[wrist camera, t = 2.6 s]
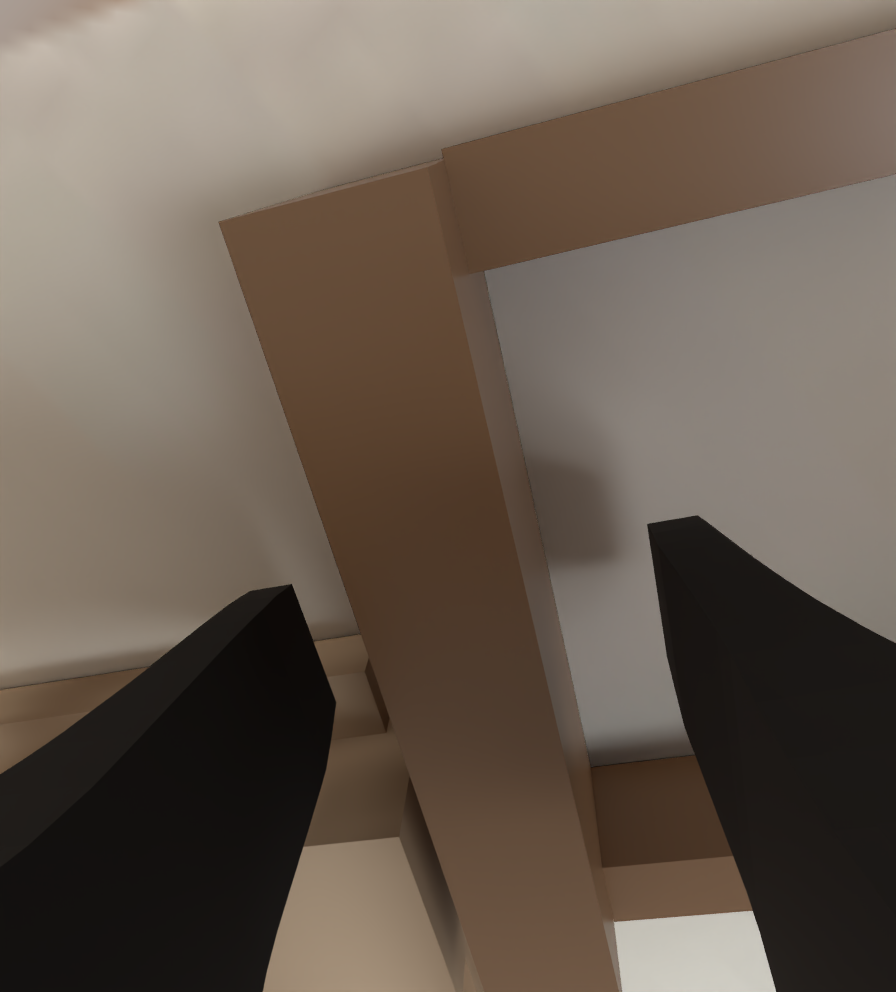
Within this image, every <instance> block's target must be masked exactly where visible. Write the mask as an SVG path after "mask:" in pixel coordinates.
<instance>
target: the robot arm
mask: <svg viewBox="0 0 896 992" xmlns="http://www.w3.org/2000/svg"><path fill="white" fill-rule="evenodd" d="M647 526H648V533H649V540H650V546H651V553H652V559H653V566H654V573H655V579H656V586H657V593H658V599H659V606H660V613H661V619H662V626H663V633H664V639H665V646H666V653H667V658H668V662H669V666H670V670H671V675H672V679H673V683H674V687H675V691H676V695H677V699H678V703H679V707H680V711H681V715H682V719H683V723H684V726H685V729H686V732H687V735H688V737H689V740H690V743H691V745H692V748H693V751H694V753H695V756H696V759H697V761H698V764H699V767H700V770H701V772H702V775H703V778H704V780H705V783H706V786H707V788H708V791H709V793H710V796H711V799H712V801H713V804H714V807H715V809H716V812H717V815H718V817H719V820H720V823H721V825H722V828H723V831H724V833H725V836H726V839H727V841H728V844H729V847H730V849H731V852H732V854H733V857H734V860H735V862H736V865H737V868H738V870H739V873H740V876H741V878H742V881H743V884H744V886H745V889H746V892H747V895H748V898H749V901H750V904H751V907H752V910H753V913H754V916H755V919H756V922H757V925H758V928H759V931H760V934H761V938H762V941H763V945H764V949H765V952H766V956H767V960H768V963H769V967H770V970H771V974H772V978H773V981H774V985H775V989H776V992H896V643H894V642H892V641H890V640H888V639H886V638H884V637H882V636H880V635H878V634H876V633H874V632H873V631H871V630H869V629H867V628H865V627H863V626H861V625H860V624H858V623H856V622H854V621H853V620H851V619H849V618H847V617H846V616H844V615H842V614H840V613H839V612H837V611H835V610H834V609H832V608H830V607H828V606H827V605H825V604H823V603H821V602H820V601H818V600H816V599H815V598H813V597H812V596H810V595H808V594H807V593H805V592H804V591H802V590H801V589H799V588H798V587H796V586H795V585H793V584H792V583H790V582H789V581H787V580H786V579H784V578H783V577H781V576H780V575H778V574H777V573H775V572H774V571H772V570H771V569H769V568H768V567H767V566H765V565H764V564H762V563H761V562H759V561H758V560H757V559H755V558H754V557H753V556H751V555H750V554H749V553H747V552H746V551H745V550H743V549H742V548H740V547H739V546H738V545H736V544H735V543H734V542H733V541H731V540H730V539H729V538H727V537H726V536H725V535H723V534H722V533H721V532H719V531H718V530H717V529H716V528H714V527H713V526H712V525H710V524H709V523H708V522H706V521H705V520H703V519H702V518H700V517H699V516H698V515H697V516H691V517H685V518H679V519H673V520H667V521H661V522H656V523H650V524H647ZM335 709H336V700H335V697H334V695H333V692H332V689H331V687H330V684H329V681H328V679H327V676H326V673H325V671H324V668H323V665H322V663H321V660H320V657H319V655H318V652H317V650H316V647H315V644H314V642H313V639H312V636H311V634H310V631H309V628H308V626H307V623H306V620H305V618H304V615H303V612H302V610H301V607H300V604H299V602H298V599H297V596H296V594H295V591H294V589H293V586H292V584H290V585H284V586H278V587H272V588H266V589H260V590H254V591H250V592H248V593H247V594H245V595H243V596H242V597H240V598H238V599H237V600H235V601H234V602H232V603H231V604H229V605H228V606H227V607H225V608H224V609H223V610H221V611H220V612H219V613H217V614H216V615H215V616H213V617H212V618H211V619H209V620H208V621H207V622H205V623H204V624H203V625H202V626H200V627H199V628H198V629H196V630H195V631H194V632H193V633H191V634H190V635H189V636H188V637H186V638H185V639H184V640H183V641H181V642H180V643H179V644H178V645H176V646H175V647H174V648H173V649H171V650H170V651H169V652H168V653H166V654H165V655H164V656H162V657H161V658H160V659H159V660H157V661H156V662H155V663H154V664H152V665H151V666H150V667H149V668H147V669H146V670H145V671H144V672H142V673H141V674H140V675H139V676H137V677H136V678H135V679H133V680H132V681H131V682H130V683H128V684H127V685H126V686H124V687H123V688H122V689H120V690H119V691H117V692H116V693H115V694H113V695H112V696H111V697H109V698H108V699H107V700H105V701H104V702H103V703H101V704H100V705H99V706H97V707H96V708H95V709H93V710H92V711H91V712H89V713H88V714H87V715H85V716H84V717H83V718H81V719H80V720H79V721H77V722H76V723H75V724H73V725H72V726H71V727H69V728H68V729H67V730H65V731H64V732H62V733H61V734H60V735H58V736H57V737H55V738H54V739H52V740H51V741H50V742H48V743H47V744H45V745H44V746H42V747H41V748H39V749H38V750H36V751H35V752H33V753H32V754H30V755H29V756H27V757H26V758H25V759H23V760H22V761H20V762H18V763H17V764H15V765H14V766H12V767H11V768H9V769H7V770H6V771H4V772H3V773H1V774H0V992H263V989H264V984H265V979H266V974H267V969H268V965H269V962H270V958H271V954H272V950H273V946H274V943H275V939H276V935H277V931H278V928H279V925H280V921H281V918H282V915H283V912H284V908H285V905H286V902H287V898H288V895H289V892H290V889H291V885H292V882H293V879H294V876H295V872H296V869H297V866H298V863H299V859H300V856H301V853H302V850H303V846H304V843H305V840H306V837H307V833H308V830H309V827H310V824H311V820H312V817H313V813H314V810H315V807H316V803H317V800H318V796H319V793H320V790H321V786H322V783H323V779H324V776H325V772H326V768H327V762H328V756H329V750H330V745H331V739H332V731H333V724H334V717H335Z"/></svg>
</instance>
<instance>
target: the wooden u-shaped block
mask: <svg viewBox="0 0 896 992" xmlns="http://www.w3.org/2000/svg"><path fill="white" fill-rule="evenodd" d="M314 644H315V647H316V650H317V652H318V655H319V657H320V660H321V663H322V665H323V668H324V671H325V673H326V676H327V679H328V681H329V684H330V687H331V689H332V692H333V695H334V697H335V700H336V709H335V717H334V724H333V731H332V739H331V745H330V750H329V756H328V762H327V768H326V772H325V776H324V779H323V783H322V786H321V790H320V793H319V796H318V800H317V803H316V807H315V810H314V813H313V817H312V820H311V824H310V827H309V830H308V833H307V837H306V840H305V843H304V846H303V850H302V853H301V856H300V859H299V863H298V866H297V869H296V872H295V876H294V879H293V882H292V885H291V889H290V892H289V895H288V898H287V902H286V905H285V908H284V912H283V915H282V918H281V921H280V925H279V928H278V931H277V935H276V939H275V943H274V946H273V950H272V954H271V958H270V962H269V965H268V969H267V974H266V979H265V984H264V989H263V992H484V989H483V987H482V984H481V981H480V978H479V975H478V972H477V969H476V966H475V963H474V961H473V958H472V955H471V952H470V949H469V946H468V943H467V940H466V937H465V934H464V932H463V929H462V926H461V923H460V920H459V917H458V914H457V911H456V908H455V905H454V903H453V900H452V897H451V894H450V891H449V888H448V885H447V882H446V879H445V877H444V874H443V871H442V868H441V865H440V862H439V859H438V856H437V853H436V850H435V848H434V845H433V842H432V839H431V836H430V833H429V830H428V827H427V824H426V821H425V819H424V816H423V813H422V810H421V807H420V804H419V801H418V798H417V795H416V792H415V790H414V787H413V784H412V781H411V778H410V775H409V772H408V769H407V766H406V764H405V761H404V758H403V755H402V752H401V749H400V746H399V743H398V740H397V737H396V735H395V732H394V729H393V726H392V723H391V720H390V717H389V714H388V711H387V708H386V706H385V703H384V700H383V697H382V694H381V691H380V688H379V685H378V682H377V680H376V677H375V674H374V671H373V668H372V665H371V662H370V659H369V656H368V653H367V651H366V648H365V645H364V642H363V639H362V636H361V634H360V635H353V636H347V637H340V638H334V639H327V640H321V641H314ZM147 668H149V667H146V668H140V669H133V670H127V671H120V672H114V673H107V674H101V675H94V676H88V677H81V678H75V679H68V680H62V681H56V682H49V683H43V684H36V685H30V686H23V687H17V688H10V689H4V690H0V774H1V773H3V772H4V771H6V770H7V769H9V768H11V767H12V766H14V765H15V764H17V763H18V762H20V761H22V760H23V759H25V758H26V757H27V756H29V755H30V754H32V753H33V752H35V751H36V750H38V749H39V748H41V747H42V746H44V745H45V744H47V743H48V742H50V741H51V740H52V739H54V738H55V737H57V736H58V735H60V734H61V733H62V732H64V731H65V730H67V729H68V728H69V727H71V726H72V725H73V724H75V723H76V722H77V721H79V720H80V719H81V718H83V717H84V716H85V715H87V714H88V713H89V712H91V711H92V710H93V709H95V708H96V707H97V706H99V705H100V704H101V703H103V702H104V701H105V700H107V699H108V698H109V697H111V696H112V695H113V694H115V693H116V692H117V691H119V690H120V689H122V688H123V687H124V686H126V685H127V684H128V683H130V682H131V681H132V680H133V679H135V678H136V677H137V676H139V675H140V674H141V673H142V672H144V671H145V670H146V669H147Z"/></svg>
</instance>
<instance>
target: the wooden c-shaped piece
mask: <svg viewBox="0 0 896 992" xmlns="http://www.w3.org/2000/svg"><path fill="white" fill-rule="evenodd" d="M441 150H442V154H443V158H442V159H438V160H435V161H431V162H427V163H423V164H419V165H416V166H412V167H408V168H404V169H400V170H397V171H393V172H389V173H385V174H381V175H378V176H374V177H370V178H366V179H362V180H359V181H355V182H351V183H347V184H344V185H340V186H336V187H332V188H328V189H325V190H321V191H317V192H314V193H311V194H307V195H304V196H301V197H298V198H294V199H291V200H288V201H285V202H281V203H278V204H275V205H272V206H268V207H265V208H262V209H259V210H255V211H252V212H249V213H246V214H243V215H239V216H236V217H233V218H230V219H226V220H223V221H220V222H219V225H220V228H221V231H222V233H223V236H224V239H225V242H226V245H227V248H228V251H229V254H230V257H231V259H232V262H233V265H234V268H235V271H236V274H237V277H238V280H239V283H240V286H241V288H242V291H243V294H244V297H245V300H246V303H247V306H248V309H249V312H250V315H251V317H252V320H253V323H254V326H255V329H256V332H257V335H258V338H259V341H260V343H261V346H262V349H263V352H264V355H265V358H266V361H267V364H268V367H269V370H270V372H271V375H272V378H273V381H274V384H275V387H276V390H277V393H278V396H279V399H280V401H281V404H282V407H283V410H284V413H285V416H286V419H287V422H288V425H289V427H290V430H291V433H292V436H293V439H294V442H295V445H296V448H297V451H298V454H299V456H300V459H301V462H302V465H303V468H304V471H305V474H306V477H307V480H308V483H309V485H310V488H311V491H312V494H313V497H314V500H315V503H316V506H317V509H318V512H319V514H320V517H321V520H322V523H323V526H324V529H325V532H326V535H327V538H328V540H329V543H330V546H331V549H332V552H333V555H334V558H335V561H336V564H337V567H338V569H339V572H340V575H341V578H342V581H343V584H344V587H345V590H346V593H347V596H348V598H349V601H350V604H351V607H352V610H353V613H354V616H355V619H356V622H357V624H358V627H359V630H360V633H361V636H362V639H363V642H364V645H365V648H366V651H367V653H368V656H369V659H370V662H371V665H372V668H373V671H374V674H375V677H376V680H377V682H378V685H379V688H380V691H381V694H382V697H383V700H384V703H385V706H386V708H387V711H388V714H389V717H390V720H391V723H392V726H393V729H394V732H395V735H396V737H397V740H398V743H399V746H400V749H401V752H402V755H403V758H404V761H405V764H406V766H407V769H408V772H409V775H410V778H411V781H412V784H413V787H414V790H415V792H416V795H417V798H418V801H419V804H420V807H421V810H422V813H423V816H424V819H425V821H426V824H427V827H428V830H429V833H430V836H431V839H432V842H433V845H434V848H435V850H436V853H437V856H438V859H439V862H440V865H441V868H442V871H443V874H444V877H445V879H446V882H447V885H448V888H449V891H450V894H451V897H452V900H453V903H454V905H455V908H456V911H457V914H458V917H459V920H460V923H461V926H462V929H463V932H464V934H465V937H466V940H467V943H468V946H469V949H470V952H471V955H472V958H473V961H474V963H475V966H476V969H477V972H478V975H479V978H480V981H481V984H482V987H483V989H484V992H622V986H621V978H620V970H619V961H618V953H617V945H616V936H615V928H614V922H617V921H630V920H642V919H654V918H667V917H679V916H692V915H704V914H716V913H729V912H741V911H753V910H752V907H751V904H750V901H749V898H748V895H747V892H746V889H745V886H744V884H743V881H742V878H741V876H740V873H739V870H738V868H737V865H736V862H735V860H734V857H733V854H732V852H731V849H730V847H729V844H728V841H727V839H726V836H725V833H724V831H723V828H722V825H721V823H720V820H719V817H718V815H717V812H716V809H715V807H714V804H713V801H712V799H711V796H710V793H709V791H708V788H707V786H706V783H705V780H704V778H703V775H702V772H701V770H700V767H699V764H698V761H697V759H696V756H695V755H693V756H684V757H676V758H667V759H659V760H650V761H641V762H633V763H624V764H616V765H607V766H598V767H591V766H590V761H589V756H588V752H587V747H586V743H585V738H584V733H583V729H582V724H581V719H580V715H579V710H578V706H577V701H576V696H575V692H574V687H573V682H572V678H571V673H570V668H569V664H568V659H567V655H566V650H565V645H564V641H563V636H562V631H561V627H560V622H559V617H558V613H557V608H556V604H555V599H554V594H553V590H552V585H551V580H550V576H549V571H548V566H547V562H546V557H545V553H544V548H543V543H542V539H541V534H540V529H539V525H538V520H537V516H536V511H535V506H534V502H533V497H532V492H531V488H530V483H529V478H528V474H527V469H526V465H525V460H524V455H523V451H522V446H521V441H520V437H519V432H518V427H517V423H516V418H515V414H514V409H513V404H512V400H511V395H510V390H509V386H508V381H507V376H506V372H505V367H504V363H503V358H502V353H501V349H500V344H499V339H498V335H497V330H496V326H495V321H494V316H493V312H492V307H491V302H490V298H489V293H488V288H487V284H486V279H485V275H484V271H485V270H490V269H494V268H498V267H502V266H507V265H511V264H515V263H519V262H524V261H528V260H532V259H537V258H541V257H545V256H549V255H554V254H558V253H562V252H566V251H571V250H575V249H579V248H583V247H588V246H592V245H596V244H600V243H605V242H609V241H613V240H617V239H622V238H626V237H630V236H634V235H639V234H643V233H647V232H652V231H656V230H660V229H664V228H669V227H673V226H677V225H681V224H686V223H690V222H694V221H698V220H703V219H707V218H711V217H715V216H720V215H724V214H728V213H732V212H737V211H741V210H745V209H750V208H754V207H758V206H762V205H767V204H771V203H775V202H779V201H784V200H788V199H792V198H796V197H801V196H805V195H809V194H813V193H818V192H822V191H826V190H830V189H835V188H839V187H843V186H847V185H852V184H856V183H860V182H865V181H869V180H873V179H877V178H882V177H886V176H890V175H894V174H896V29H892V30H888V31H884V32H881V33H877V34H873V35H869V36H866V37H862V38H858V39H854V40H851V41H847V42H843V43H839V44H835V45H832V46H828V47H824V48H820V49H817V50H813V51H809V52H805V53H802V54H798V55H794V56H790V57H787V58H783V59H779V60H775V61H772V62H768V63H764V64H760V65H756V66H753V67H749V68H745V69H741V70H738V71H734V72H730V73H726V74H723V75H719V76H715V77H711V78H708V79H704V80H700V81H696V82H692V83H689V84H685V85H681V86H677V87H674V88H670V89H666V90H662V91H659V92H655V93H651V94H647V95H644V96H640V97H636V98H632V99H628V100H625V101H621V102H617V103H613V104H610V105H606V106H602V107H598V108H595V109H591V110H587V111H583V112H580V113H576V114H572V115H568V116H565V117H561V118H557V119H553V120H549V121H546V122H542V123H538V124H534V125H531V126H527V127H523V128H519V129H516V130H512V131H508V132H504V133H501V134H497V135H493V136H489V137H485V138H482V139H478V140H474V141H470V142H467V143H463V144H459V145H455V146H452V147H448V148H444V149H441ZM613 919H614V920H613Z"/></svg>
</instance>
